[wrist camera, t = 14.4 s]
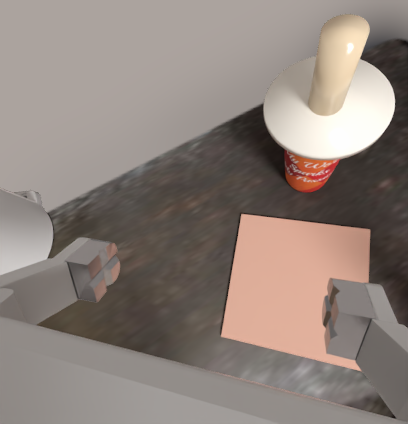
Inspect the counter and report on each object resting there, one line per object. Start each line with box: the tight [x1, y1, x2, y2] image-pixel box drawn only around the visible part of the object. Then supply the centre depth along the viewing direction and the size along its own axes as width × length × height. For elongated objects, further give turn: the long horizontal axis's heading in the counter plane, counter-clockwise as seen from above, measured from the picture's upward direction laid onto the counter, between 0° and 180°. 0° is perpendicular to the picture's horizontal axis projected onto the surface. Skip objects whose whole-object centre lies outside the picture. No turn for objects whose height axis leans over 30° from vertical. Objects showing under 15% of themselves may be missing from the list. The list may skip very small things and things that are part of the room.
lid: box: [264, 14, 395, 160], centre depth 22 cm, size 11×11×8 cm
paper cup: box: [284, 149, 340, 192], centre depth 32 cm, size 8×8×14 cm
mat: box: [221, 214, 370, 371], centre depth 34 cm, size 16×16×1 cm
